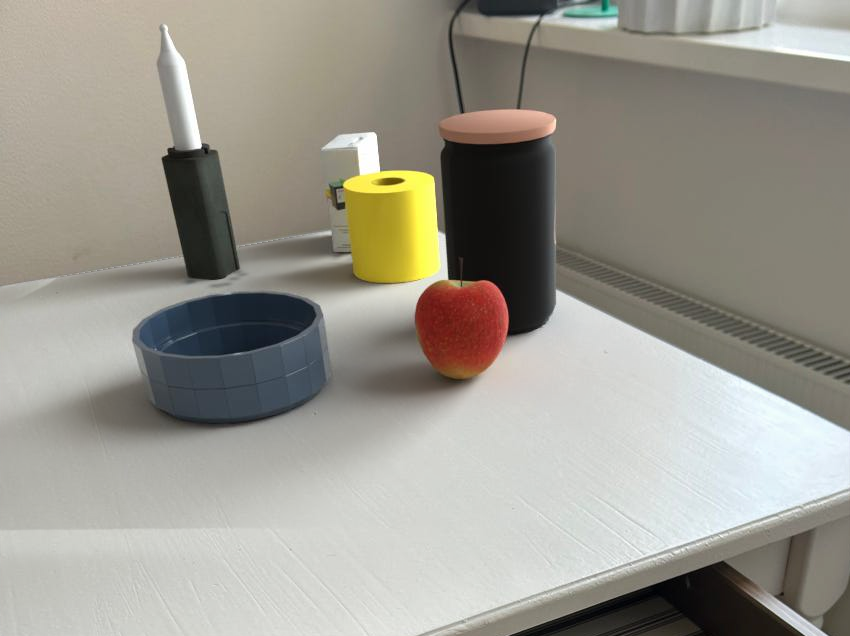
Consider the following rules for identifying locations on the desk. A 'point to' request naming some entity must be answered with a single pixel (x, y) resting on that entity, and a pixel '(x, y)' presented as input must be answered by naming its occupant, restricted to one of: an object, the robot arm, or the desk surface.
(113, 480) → the desk surface
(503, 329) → the apple
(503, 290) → the coffee jar
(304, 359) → the bowl
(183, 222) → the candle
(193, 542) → the desk surface
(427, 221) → the yellow toilet paper roll
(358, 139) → the ink box
